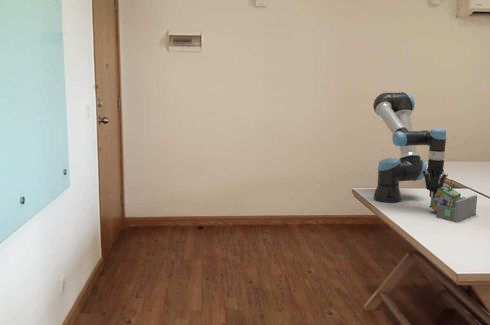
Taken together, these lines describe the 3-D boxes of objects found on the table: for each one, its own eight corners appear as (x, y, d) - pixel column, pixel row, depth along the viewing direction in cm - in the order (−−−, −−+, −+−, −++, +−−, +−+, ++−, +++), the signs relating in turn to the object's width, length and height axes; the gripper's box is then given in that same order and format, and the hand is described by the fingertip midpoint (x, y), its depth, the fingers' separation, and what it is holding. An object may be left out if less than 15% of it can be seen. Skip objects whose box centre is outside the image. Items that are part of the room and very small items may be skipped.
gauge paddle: (446, 217, 226) (447, 201, 224) (461, 211, 235) (463, 196, 234) (448, 217, 225) (449, 202, 223) (464, 212, 234) (465, 196, 233)
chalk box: (444, 216, 231) (457, 191, 225) (428, 206, 236) (440, 182, 230) (452, 212, 237) (465, 188, 231) (436, 203, 243) (448, 179, 236)
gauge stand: (435, 217, 229) (437, 197, 228) (455, 210, 241) (456, 191, 240) (456, 222, 221) (458, 202, 219) (476, 214, 233) (477, 195, 231)
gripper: (421, 158, 238) (417, 202, 242) (444, 161, 228) (440, 207, 233) (428, 156, 243) (425, 200, 247) (451, 160, 233) (447, 205, 237)
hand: (432, 203), depth 240 cm, fingers closed
